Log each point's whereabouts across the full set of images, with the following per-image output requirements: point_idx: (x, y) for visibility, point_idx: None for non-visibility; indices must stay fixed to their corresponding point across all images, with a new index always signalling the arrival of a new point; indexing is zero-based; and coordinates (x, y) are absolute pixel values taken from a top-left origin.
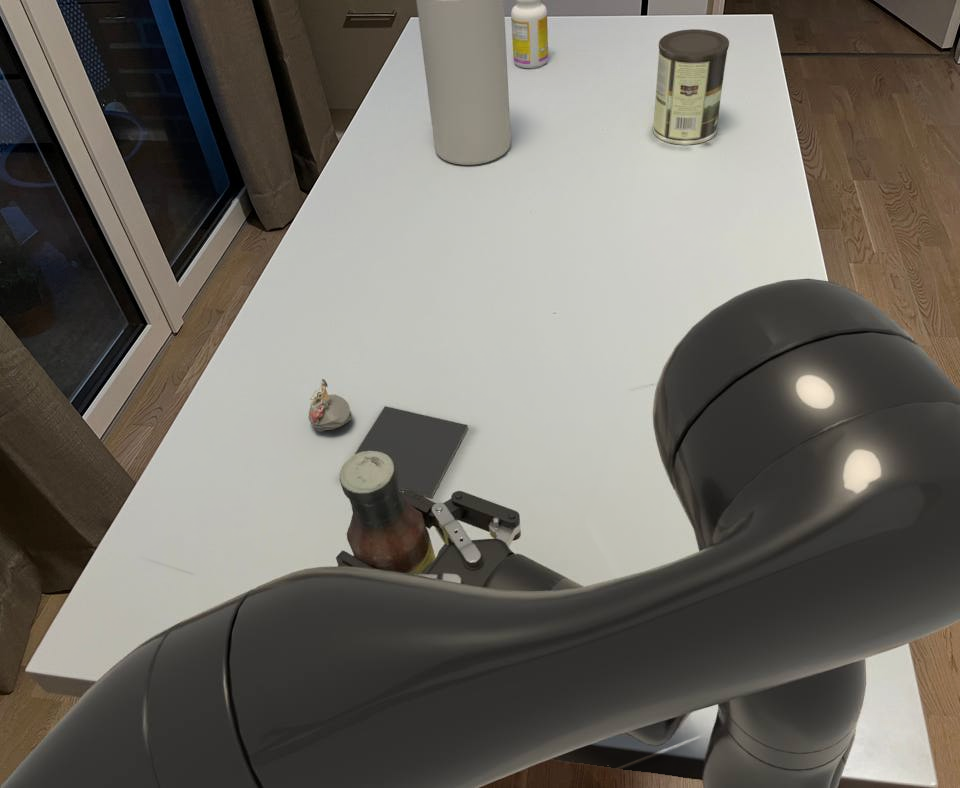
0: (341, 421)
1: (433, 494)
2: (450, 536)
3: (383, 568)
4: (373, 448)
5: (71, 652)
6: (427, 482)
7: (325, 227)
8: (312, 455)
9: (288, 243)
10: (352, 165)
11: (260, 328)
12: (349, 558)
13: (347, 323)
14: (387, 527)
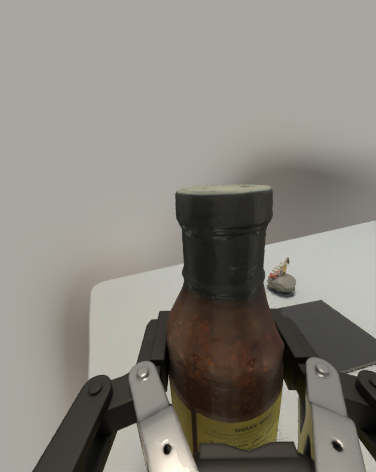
0: (284, 287)
1: None
2: (314, 441)
3: (174, 367)
4: (295, 313)
5: (100, 288)
6: None
7: (336, 235)
8: None
9: (313, 234)
10: (365, 226)
11: (278, 247)
12: (163, 321)
13: (323, 262)
14: (204, 303)
